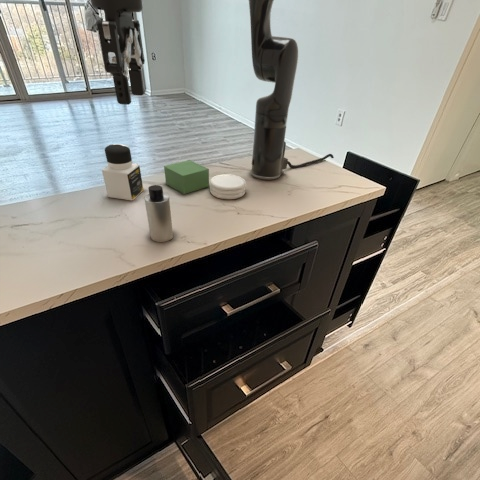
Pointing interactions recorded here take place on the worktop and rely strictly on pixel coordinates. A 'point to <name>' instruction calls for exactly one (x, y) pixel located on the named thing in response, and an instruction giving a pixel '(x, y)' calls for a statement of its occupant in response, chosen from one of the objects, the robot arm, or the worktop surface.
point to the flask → (158, 214)
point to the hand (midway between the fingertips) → (132, 99)
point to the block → (186, 176)
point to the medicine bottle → (121, 173)
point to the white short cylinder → (227, 186)
